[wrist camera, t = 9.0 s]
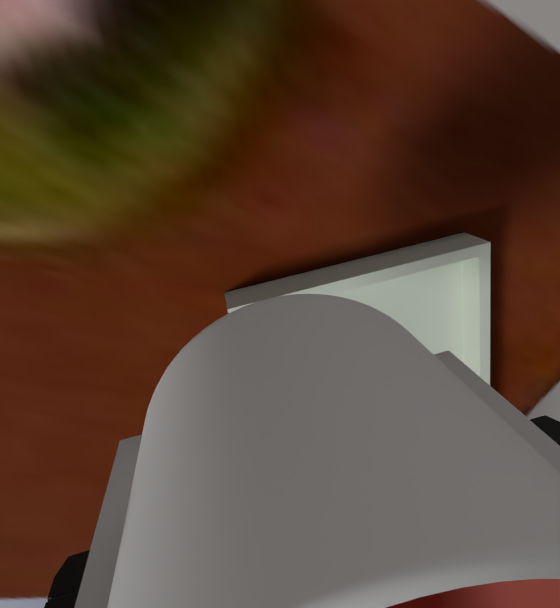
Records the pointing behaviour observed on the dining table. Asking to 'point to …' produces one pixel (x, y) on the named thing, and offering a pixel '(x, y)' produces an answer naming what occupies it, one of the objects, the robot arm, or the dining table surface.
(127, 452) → the robot arm
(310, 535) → the cup
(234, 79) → the dining table surface
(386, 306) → the tray
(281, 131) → the dining table surface
